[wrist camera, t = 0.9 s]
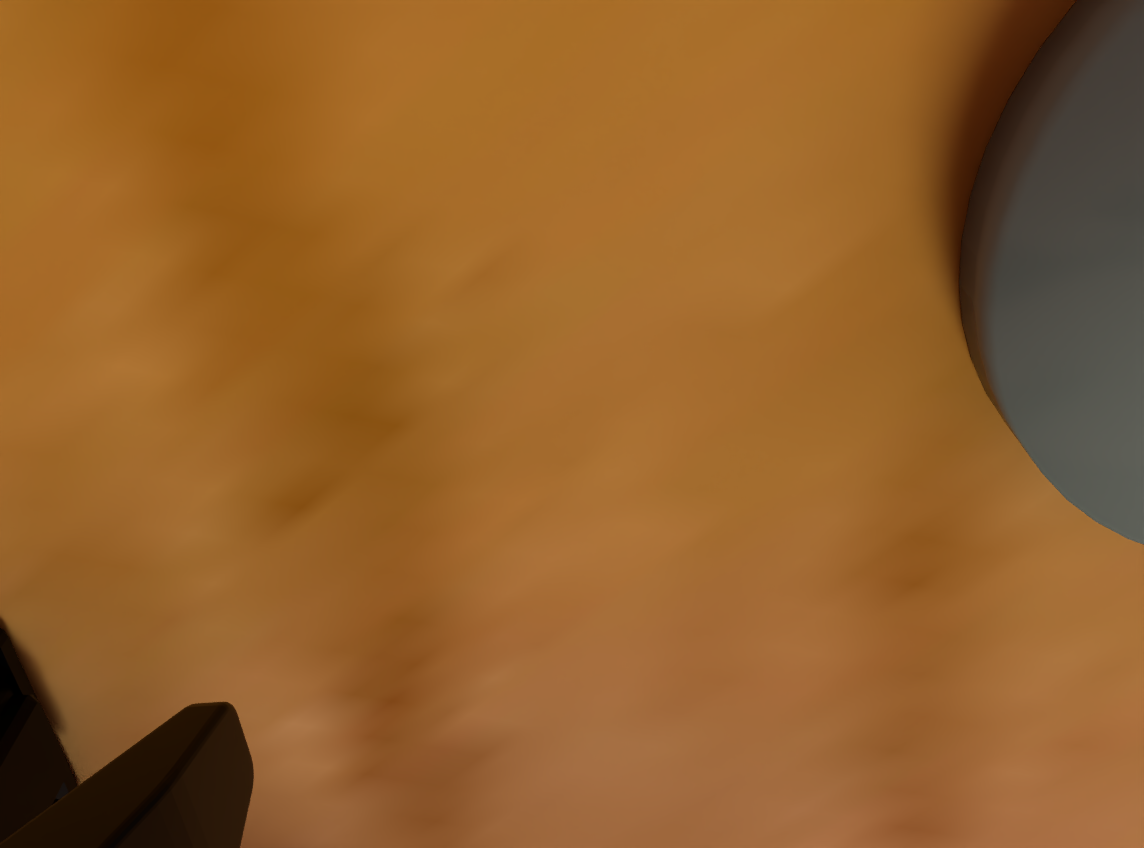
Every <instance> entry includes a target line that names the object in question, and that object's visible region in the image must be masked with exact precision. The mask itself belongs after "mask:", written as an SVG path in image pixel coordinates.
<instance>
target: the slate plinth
mask: <svg viewBox="0 0 1144 848" xmlns="http://www.w3.org/2000/svg"><path fill="white" fill-rule="evenodd" d="M959 289H960V301H961V312H962V323H963V328H964V332H965V336H966V340H967V344H968V348H969V352H970V356H971V360H972V362H973V364H974V367H975V369H976V371H977V374H978V376H979V378H980V381H981V383H982V385H983V387H984V390H985V392H986V394H987V396H988V397H989V399H990V400H991V402H992V403H993V405H994V406H995V408H996V409H997V411H998V412H999V414H1000V415H1001V417H1002V418H1003V420H1004V422H1005V423H1006V424H1007V426H1008V427H1009V428H1010V430H1011V431H1012V433H1013V434H1014V435H1015V437H1016V438H1017V439H1018V441H1019V442H1020V444H1021V445H1022V446H1023V448H1024V449H1025V450H1026V452H1027V453H1028V454H1029V456H1030V457H1031V459H1032V460H1033V461H1034V463H1035V464H1036V465H1037V467H1038V468H1039V470H1040V471H1041V472H1042V474H1043V475H1044V476H1045V477H1046V478H1047V479H1048V480H1049V481H1050V482H1051V483H1052V484H1053V485H1054V486H1055V488H1056V489H1057V490H1058V491H1059V492H1060V493H1061V494H1062V495H1063V496H1064V497H1065V498H1066V499H1067V500H1068V501H1069V502H1071V503H1072V504H1073V505H1075V506H1076V507H1077V508H1079V509H1080V510H1081V511H1082V512H1084V513H1085V514H1086V515H1088V516H1089V517H1090V518H1092V519H1093V520H1094V521H1096V522H1098V523H1099V524H1101V525H1103V526H1105V527H1107V528H1109V529H1111V530H1112V531H1114V532H1116V533H1118V534H1120V535H1122V536H1124V537H1126V538H1127V539H1130V540H1133V541H1135V542H1138V543H1141V544H1144V0H1077V1H1076V2H1075V3H1074V5H1073V6H1072V7H1071V9H1070V10H1069V11H1068V12H1067V14H1066V15H1065V16H1064V18H1063V19H1062V20H1061V22H1060V23H1059V24H1058V26H1057V27H1056V28H1055V29H1054V31H1053V32H1052V33H1051V35H1050V36H1049V37H1048V39H1047V40H1046V41H1045V43H1044V44H1043V45H1042V47H1041V48H1040V49H1039V50H1038V52H1037V54H1036V55H1035V57H1034V59H1033V60H1032V62H1031V64H1030V65H1029V67H1028V68H1027V70H1026V72H1025V73H1024V75H1023V77H1022V78H1021V80H1020V82H1019V83H1018V85H1017V87H1016V88H1015V90H1014V92H1013V93H1012V95H1011V96H1010V98H1009V100H1008V102H1007V104H1006V106H1005V108H1004V111H1003V113H1002V115H1001V117H1000V119H999V121H998V123H997V126H996V128H995V130H994V132H993V134H992V136H991V138H990V141H989V143H988V145H987V147H986V150H985V153H984V156H983V159H982V162H981V165H980V168H979V171H978V174H977V177H976V180H975V183H974V186H973V189H972V192H971V195H970V200H969V205H968V210H967V215H966V220H965V225H964V231H963V236H962V241H961V258H960V275H959Z"/></svg>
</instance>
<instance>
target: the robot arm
mask: <svg viewBox="0 0 1144 848" xmlns="http://www.w3.org/2000/svg"><path fill="white" fill-rule="evenodd" d="M253 779H254V771H253V762H252V758H251V755H250V751H249V748H248V745H247V742H246V739H245V736H244V733H243V730H242V727H241V724H240V721H239V718H238V714H237V712H236V710H235V708H234V707H233V705H231V704H230V703H228V702H213V703H198V704H191V705H189V706H187V707H185V708H184V709H182V710H181V711H180V712H178V713H177V714H176V715H174V716H173V717H172V718H170V719H169V720H167V721H166V722H165V723H163V724H162V725H161V726H159V727H158V728H157V729H155V730H154V731H152V732H151V733H150V734H148V735H147V736H146V737H144V738H143V739H142V740H140V741H139V742H137V743H136V744H135V745H133V746H132V747H131V748H129V749H128V750H126V751H125V752H124V753H122V754H121V755H120V756H118V757H117V758H116V759H114V760H113V761H111V762H110V763H109V764H107V765H106V766H105V767H103V768H102V769H101V770H99V771H98V772H96V773H95V774H94V775H92V776H91V777H90V778H88V779H87V780H86V781H84V782H83V783H81V784H80V785H79V786H77V783H76V781H75V779H74V777H73V775H72V773H71V770H70V768H69V765H68V763H67V760H66V758H65V756H64V754H63V752H62V750H61V747H60V745H59V743H58V741H57V739H56V737H55V734H54V732H53V730H52V728H51V726H50V724H49V722H48V719H47V717H46V715H45V713H44V711H43V709H42V706H41V704H40V703H39V701H38V699H37V697H36V695H35V693H34V691H33V689H32V686H31V684H30V682H29V680H28V678H27V676H26V674H25V671H24V669H23V667H22V665H21V663H20V661H19V658H18V656H17V654H16V652H15V650H14V648H13V646H12V643H11V641H10V639H9V637H8V635H7V634H6V633H5V631H4V630H3V629H1V628H0V848H240V844H241V840H242V835H243V831H244V826H245V821H246V817H247V812H248V807H249V803H250V798H251V794H252V788H253Z"/></svg>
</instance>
